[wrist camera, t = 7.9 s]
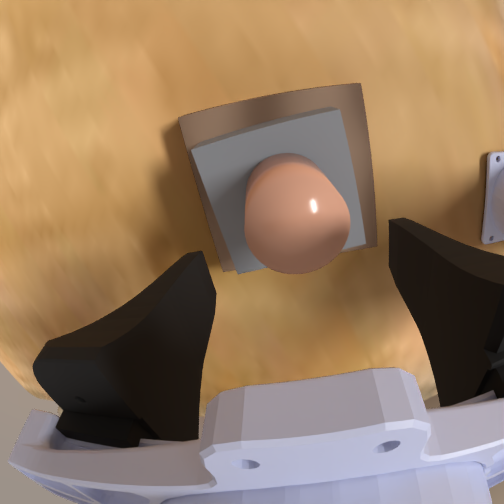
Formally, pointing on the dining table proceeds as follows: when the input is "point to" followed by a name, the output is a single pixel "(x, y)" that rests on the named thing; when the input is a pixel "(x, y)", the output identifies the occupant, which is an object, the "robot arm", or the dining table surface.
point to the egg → (294, 215)
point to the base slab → (279, 106)
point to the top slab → (261, 147)
